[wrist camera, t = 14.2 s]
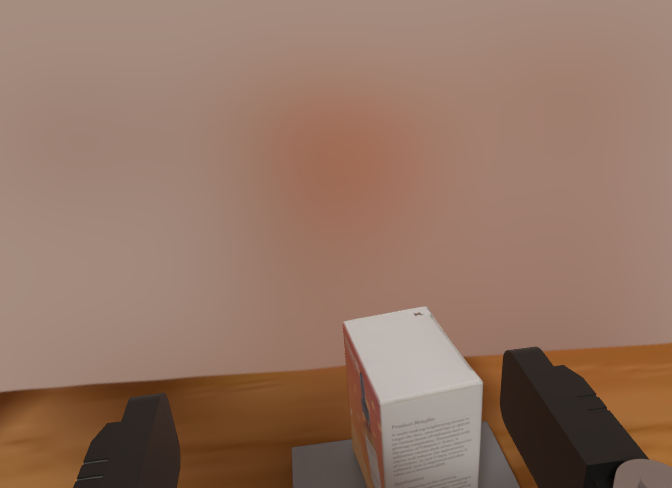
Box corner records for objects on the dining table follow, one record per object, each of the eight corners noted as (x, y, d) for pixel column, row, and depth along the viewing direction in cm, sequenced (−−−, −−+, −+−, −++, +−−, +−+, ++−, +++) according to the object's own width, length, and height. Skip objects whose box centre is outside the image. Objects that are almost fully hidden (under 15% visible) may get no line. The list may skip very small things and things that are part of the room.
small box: (351, 448, 38) (339, 318, 34) (428, 431, 39) (426, 302, 35) (386, 551, 31) (376, 403, 27) (479, 527, 32) (485, 379, 27)
